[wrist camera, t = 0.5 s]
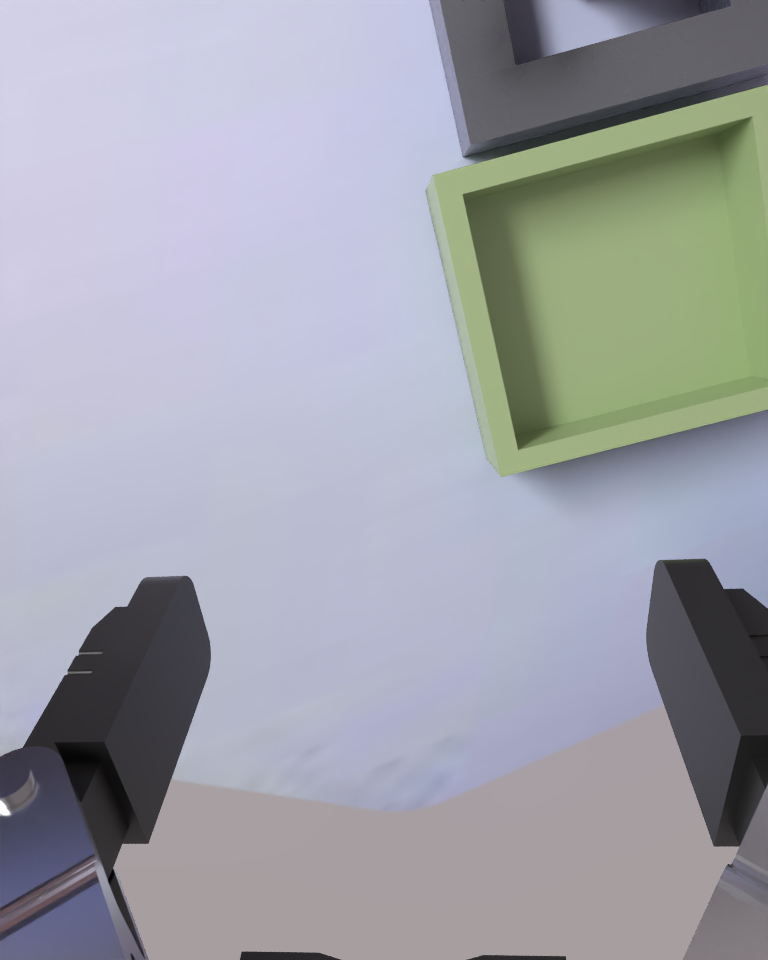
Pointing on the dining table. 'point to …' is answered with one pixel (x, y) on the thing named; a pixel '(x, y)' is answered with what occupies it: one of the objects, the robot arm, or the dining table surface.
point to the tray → (612, 281)
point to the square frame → (587, 69)
